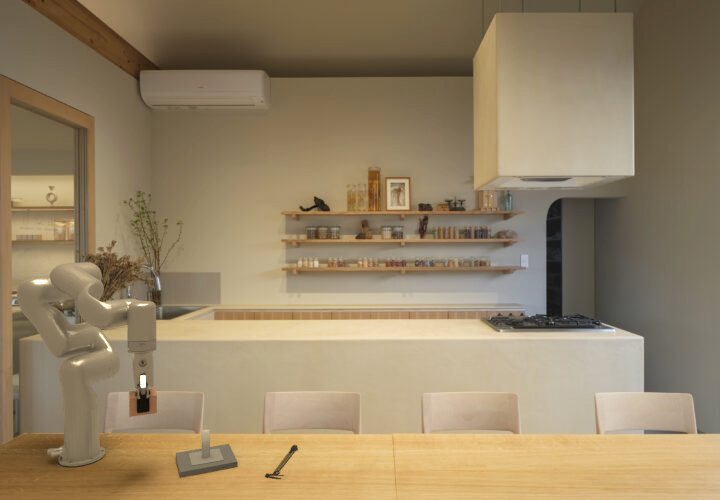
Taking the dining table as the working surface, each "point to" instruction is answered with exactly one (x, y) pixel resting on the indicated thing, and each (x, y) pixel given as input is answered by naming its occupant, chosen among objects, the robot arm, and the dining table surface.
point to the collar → (133, 403)
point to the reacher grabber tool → (282, 464)
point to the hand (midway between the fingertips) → (142, 407)
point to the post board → (205, 458)
